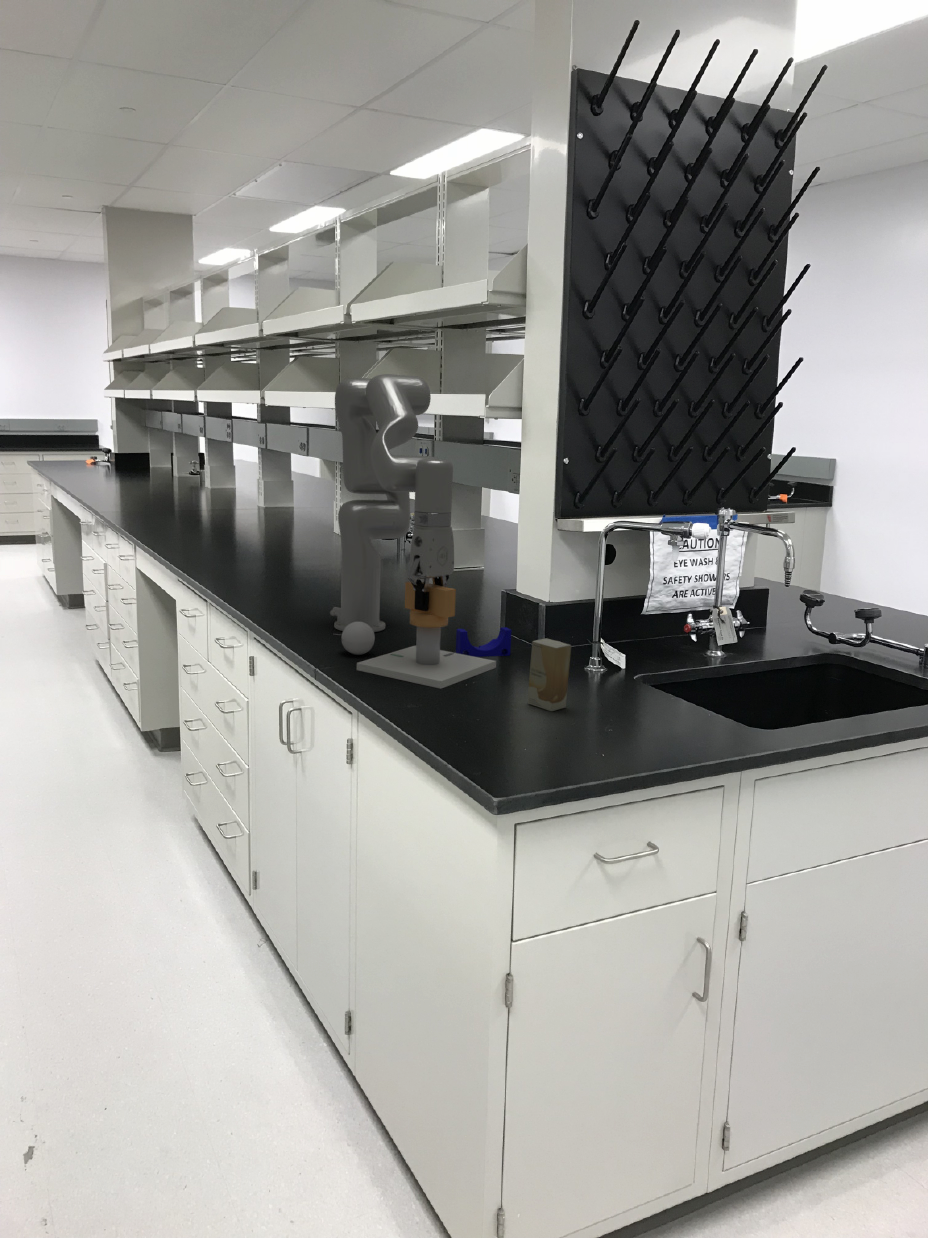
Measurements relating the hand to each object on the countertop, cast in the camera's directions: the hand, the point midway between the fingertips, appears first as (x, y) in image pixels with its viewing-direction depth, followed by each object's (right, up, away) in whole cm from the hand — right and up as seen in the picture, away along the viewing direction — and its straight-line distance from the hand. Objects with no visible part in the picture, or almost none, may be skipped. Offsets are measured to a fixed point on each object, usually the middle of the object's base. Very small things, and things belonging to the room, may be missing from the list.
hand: (429, 607), depth 194 cm
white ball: (-17, -10, +13) cm, 24 cm away
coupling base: (-1, -13, +3) cm, 13 cm away
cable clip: (+11, -11, +18) cm, 23 cm away
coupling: (0, -3, +1) cm, 3 cm away
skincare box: (+23, -19, -20) cm, 35 cm away
